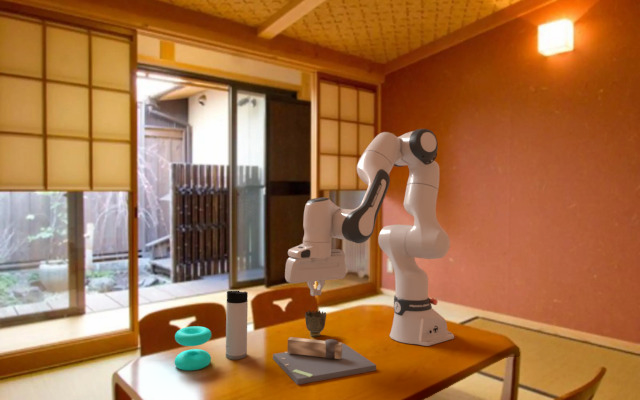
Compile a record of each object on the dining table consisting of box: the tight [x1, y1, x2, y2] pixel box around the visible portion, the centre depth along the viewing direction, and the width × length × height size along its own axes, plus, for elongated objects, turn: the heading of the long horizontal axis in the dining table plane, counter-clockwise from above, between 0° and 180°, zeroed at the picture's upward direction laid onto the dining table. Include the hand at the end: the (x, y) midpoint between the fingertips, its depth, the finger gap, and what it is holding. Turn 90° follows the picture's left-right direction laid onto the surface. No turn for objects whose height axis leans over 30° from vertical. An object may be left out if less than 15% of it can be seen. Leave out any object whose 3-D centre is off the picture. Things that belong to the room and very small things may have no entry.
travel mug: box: [225, 290, 249, 360], centre depth 134 cm, size 6×7×20 cm
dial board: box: [272, 343, 377, 386], centre depth 128 cm, size 24×19×2 cm
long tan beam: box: [287, 336, 343, 359], centre depth 131 cm, size 16×4×4 cm, turn 75°
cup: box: [304, 310, 327, 338], centre depth 154 cm, size 8×7×8 cm
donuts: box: [174, 325, 212, 371], centre depth 126 cm, size 10×10×10 cm
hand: (315, 295), depth 137 cm, fingers closed
